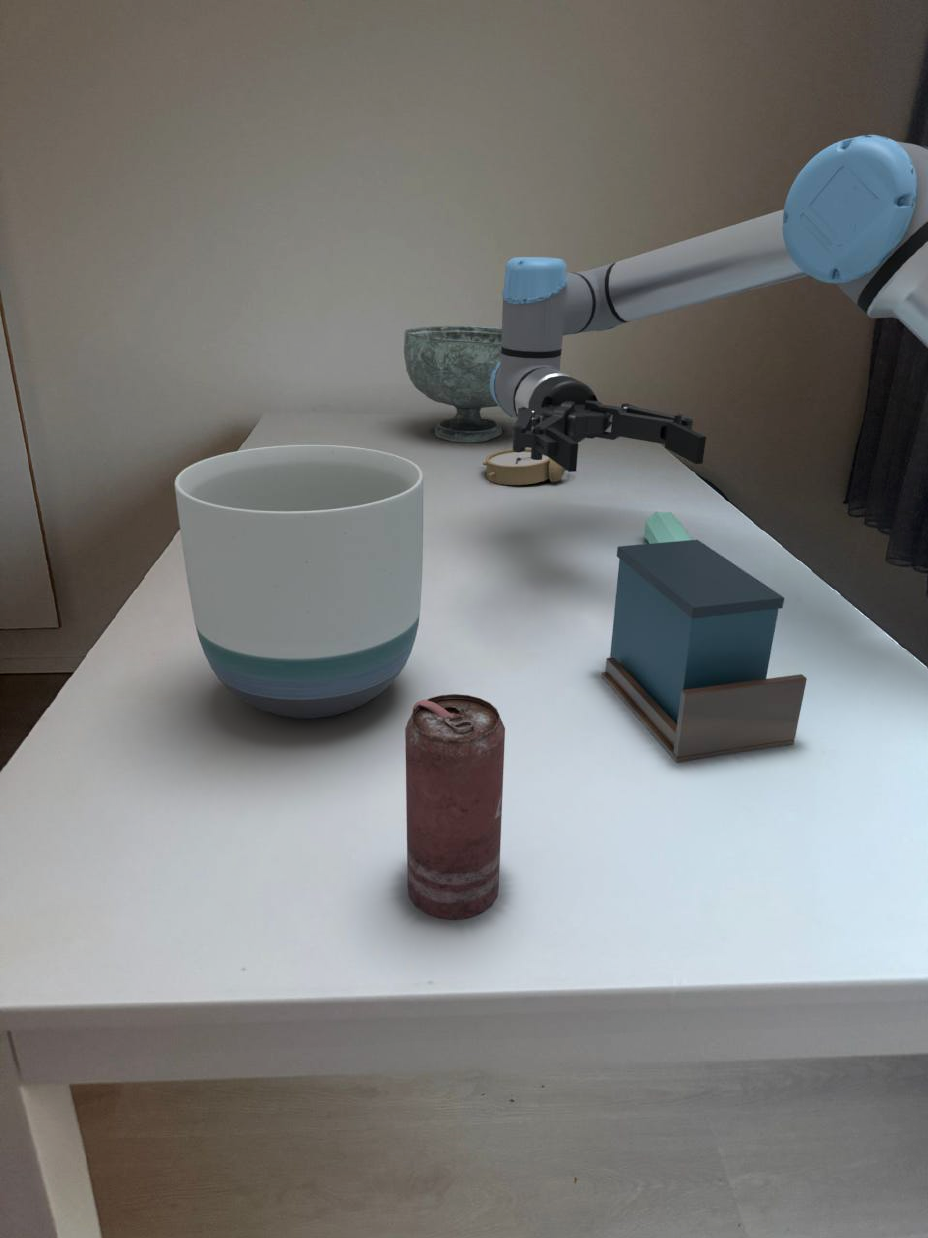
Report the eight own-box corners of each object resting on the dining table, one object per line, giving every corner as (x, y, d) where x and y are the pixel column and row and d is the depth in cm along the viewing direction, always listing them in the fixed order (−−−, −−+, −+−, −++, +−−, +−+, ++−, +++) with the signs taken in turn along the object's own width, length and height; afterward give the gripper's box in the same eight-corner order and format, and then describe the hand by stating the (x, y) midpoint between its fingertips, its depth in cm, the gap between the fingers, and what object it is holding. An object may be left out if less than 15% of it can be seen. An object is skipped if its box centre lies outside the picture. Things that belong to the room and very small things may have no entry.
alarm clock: (479, 452, 156) (564, 435, 156) (484, 479, 158) (568, 463, 158) (488, 469, 146) (579, 452, 146) (493, 498, 148) (582, 481, 148)
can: (430, 852, 65) (430, 680, 59) (512, 880, 62) (520, 703, 56) (387, 905, 60) (382, 724, 54) (474, 938, 57) (479, 751, 51)
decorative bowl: (374, 428, 181) (376, 324, 172) (467, 413, 197) (473, 318, 189) (463, 460, 164) (470, 346, 155) (557, 441, 180) (568, 337, 172)
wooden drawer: (600, 681, 88) (606, 616, 85) (702, 667, 91) (712, 604, 88) (675, 768, 75) (685, 694, 72) (793, 749, 78) (807, 678, 75)
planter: (177, 675, 88) (149, 459, 79) (370, 633, 97) (364, 435, 88) (239, 783, 72) (213, 528, 63) (462, 721, 81) (467, 490, 72)
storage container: (606, 659, 90) (617, 546, 85) (682, 650, 92) (697, 539, 87) (676, 735, 77) (693, 607, 72) (762, 722, 80) (784, 597, 74)
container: (650, 497, 123) (694, 561, 100) (688, 513, 124) (741, 580, 101) (630, 535, 125) (669, 606, 102) (667, 551, 126) (714, 625, 103)
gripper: (649, 434, 111) (745, 483, 93) (454, 443, 104) (515, 499, 86) (656, 371, 108) (757, 410, 89) (455, 377, 101) (519, 420, 83)
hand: (638, 454), depth 88 cm, fingers open, 13 cm apart
